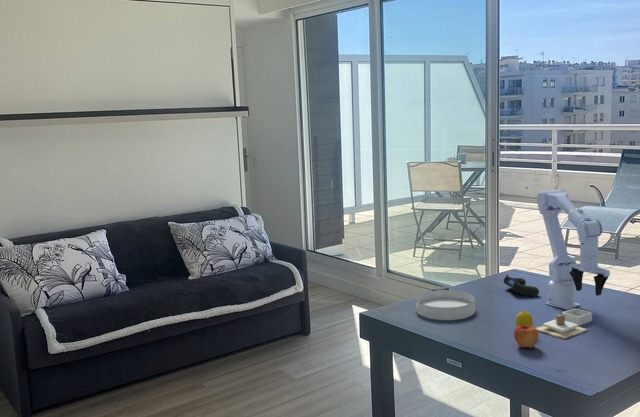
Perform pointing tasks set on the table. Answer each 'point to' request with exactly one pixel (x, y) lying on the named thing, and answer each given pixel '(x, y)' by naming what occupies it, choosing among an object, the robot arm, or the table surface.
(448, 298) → the dish
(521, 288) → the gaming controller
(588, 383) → the table surface
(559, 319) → the lid
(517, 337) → the apple
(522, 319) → the lemon
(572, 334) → the birch board
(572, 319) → the storage box
